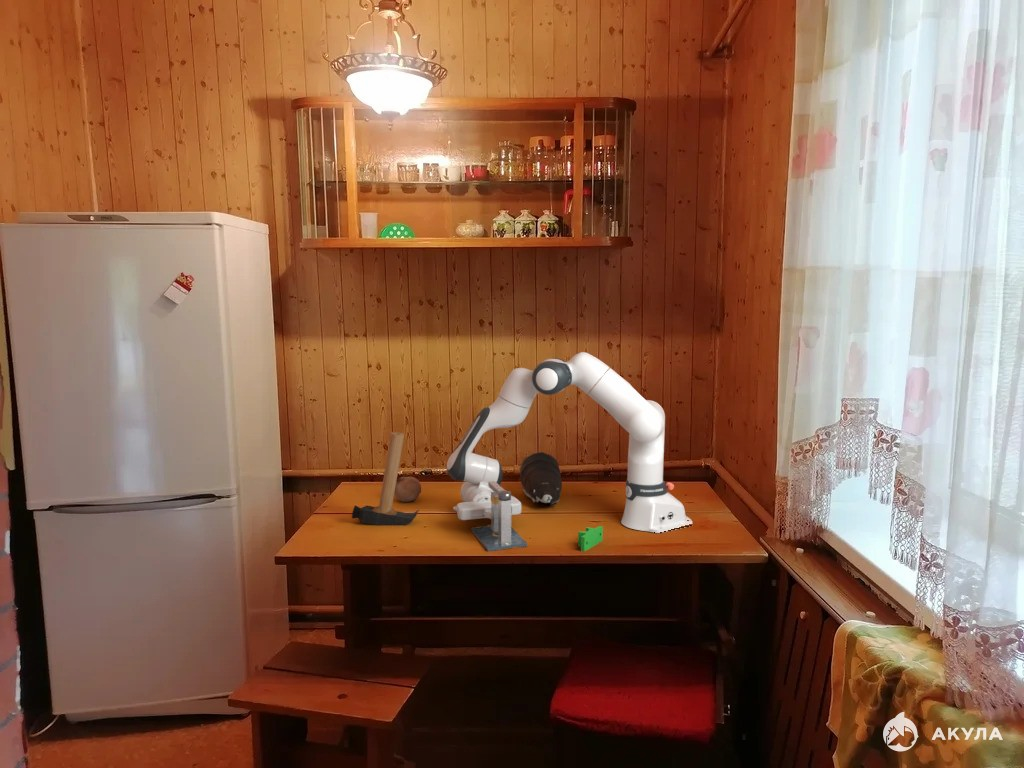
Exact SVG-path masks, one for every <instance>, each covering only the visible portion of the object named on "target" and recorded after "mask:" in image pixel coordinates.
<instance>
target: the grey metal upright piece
mask: <svg viewBox="0 0 1024 768" xmlns="http://www.w3.org/2000/svg"><path fill="white" fill-rule="evenodd" d="M488 487H489V488H491V489H492V490H493V491H494V492H495V493H496V494H497V495H498V496H499V498H498V541H499V542H500V543H501V544H507V543H511V527H512V515H511V496H512V491H510V490H505V489H504V488H503V486H501V484H500V485H498V484H497V483H496V482H495V481H492V482H488Z"/></svg>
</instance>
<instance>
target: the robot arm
mask: <svg viewBox="0 0 1024 768" xmlns="http://www.w3.org/2000/svg"><path fill="white" fill-rule="evenodd" d="M570 385H571V386H573V385H574V386H575V387H577V388H579V389H580V390H582V391H583V392H584V393H586V395H588V396H589V398H591V399H592V400H594V402H596V403H597V405H599V406H601V407H602V408H603V409H605V410H606V411H607V413H608V414H610V416H611V417H613V419H615V421H616V422H617V423H618V424H619V425H620V426H621V427H622V428H623V429H624V430H625V431H626V432H627V433H628V434H629V435H628V453H627V478H626V480H625V507H624V511H623V514H622V518H621V521H620V523H621V524H622V525H623V526H624V527H626V528H629V529H633V530H637V531H643V532H651V533H654V532H655V534H660V532H662V533H665V532H664V531H666V532H669V531H668V530H671V529H674V528H679V527H681V526H685V525H689V524H693V521H692V519H691V518H690V517H688V516H687V515H686V511H685V509H686V508H685V506H684V505H683V503H682V502H681V501H680V500H678V499H677V498H676V497H675V496H673V495H672V493H670V492H668V490H670V491H672V490H674V489H675V485H674V483H672V482H667V481H665V480H664V461H665V460H664V456H665V454H664V453H665V434H666V433H665V432H666V431H665V430H666V429H665V428H666V414H665V411H664V408H663V407H662V406H661V405H660V404H659V403H658V402H657V401H654V400H649V399H645V398H644V397H643V396H642V395H641V394H640V393H639V392H638V391H637V390H636V389H635V388H634V387H633V386H632V385H631V383H630V382H628V381H627V380H626V379H624V378H623V377H622V376H620V374H618V372H617V371H615V370H614V369H612V368H611V367H610V366H609V365H607V364H606V363H605V362H603V361H602V360H600V359H599V358H598V357H595V356H594V355H592V354H590V353H588V352H585V351H581V352H579V353H576V354H575V355H574V356H572V357H571V359H570V360H568V361H565V360H564V359H561V358H558V357H553V358H547V359H545V360H543V361H541V362H540V363H538V364H537V365H536V367H535V368H534V370H531V369H528V368H526V367H516V368H514V369H513V370H512V371H511V372H510V374H509V375H507V378H506V379H505V381H504V383H503V385H502V387H501V389H500V391H499V393H498V395H497V398H496V399H495V400H494V402H493V403H491V404H490V405H489V406H487V407H483V408H482V409H481V410H480V411H479V413H478V414H477V415H476V416H475V418H474V420H472V421H473V422H472V423H471V425H470V426H469V427H468V429H467V431H466V432H465V434H464V436H463V437H462V439H461V441H460V442H459V444H458V445H457V447H456V448H455V449H454V450H453V451H452V452H451V454H450V456H449V458H448V459H447V462H446V471H447V473H448V475H449V477H450V478H451V479H452V480H454V481H458V482H459V481H460V482H463V484H462V485H461V486H460V487H461V488H460V498H461V500H462V502H459V503H457V504H456V506H453V508H452V509H453V511H454V512H456V514H457V518H458V519H459V520H461V521H469V520H477V519H490V520H491V492H494V491H493V490H492V489H491V488H489V487H488V482H492V481H495V482H496V483H497V484H498V485H500V486H501V483H502V480H503V477H504V472H503V467H502V465H501V463H500V462H499V460H497V459H494V458H491V457H488V456H484V455H480V454H477V453H473V451H474V449H475V447H476V445H477V443H478V442H479V441H480V439H481V438H482V436H483V435H484V434H485V433H486V432H488V431H490V430H495V429H504V428H505V429H507V428H514V427H516V426H519V425H520V424H522V423H523V422H524V420H526V417H527V416H528V413H529V411H530V409H531V406H532V404H533V401H534V400H535V397H537V395H538V394H539V393H540V394H543V395H546V396H551V395H552V396H553V395H557V394H558V393H560V392H563V391H564V390H565V389H566V388H567V387H569V386H570ZM521 514H522V502H521V501H520V500H519V499H518V498H516V497H515V496H514V495H511V516H514V515H521ZM687 520H689V521H687ZM671 531H672V530H671Z"/></svg>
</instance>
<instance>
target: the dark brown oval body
mask: <svg viewBox="0 0 1024 768" xmlns="http://www.w3.org/2000/svg"><path fill="white" fill-rule="evenodd" d="M559 466H560V465H559V462H558V461H557V458H556V457H554V456H553V455H552V454H549V453H545V452H541V451H540V452H539V451H538V452H534V453H532V454H530V455H528V456H526V457H525V458H524V459H523V461H522V462H521V465H520V468H519V479H520V483H521V487H522V491H523V492H524V493H523V494H525V495H526V496H527V497H528V498H530V499H531V500H532V502H533V503H539V502H541V503H544V504H549V505H550V506H551V507H553V506H555V505H556V504H557V503H558V502H559V501H560V498H561V492H562V488H563V487H562V486H563V481H562V475H561V471H560V467H559Z"/></svg>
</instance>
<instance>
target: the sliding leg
mask: <svg viewBox="0 0 1024 768" xmlns="http://www.w3.org/2000/svg"><path fill="white" fill-rule="evenodd" d="M498 498H499V496H498V495H497V494H496V493H495V492H491V519H490V520H491V524H490V526H491V529H492V530H493V531H494V532H495V533H496V534H498Z"/></svg>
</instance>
